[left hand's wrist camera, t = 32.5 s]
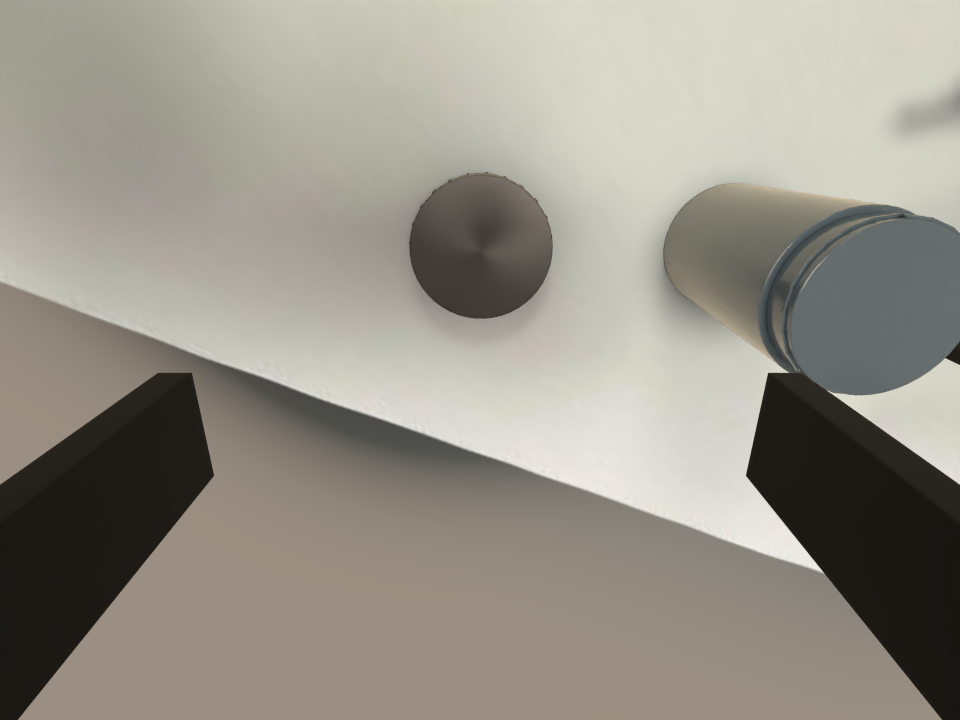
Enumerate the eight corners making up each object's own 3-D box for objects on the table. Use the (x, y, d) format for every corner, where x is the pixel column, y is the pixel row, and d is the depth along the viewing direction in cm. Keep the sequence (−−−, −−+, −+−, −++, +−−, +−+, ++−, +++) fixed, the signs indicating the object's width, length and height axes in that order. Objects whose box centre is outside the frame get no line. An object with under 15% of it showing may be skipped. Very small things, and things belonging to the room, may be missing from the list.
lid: (530, 321, 39) (533, 331, 37) (403, 294, 38) (398, 303, 36) (564, 189, 35) (570, 192, 33) (425, 158, 35) (422, 158, 33)
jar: (764, 310, 39) (937, 411, 24) (651, 298, 38) (756, 392, 24) (802, 190, 35) (1027, 222, 21) (680, 176, 35) (822, 198, 21)
